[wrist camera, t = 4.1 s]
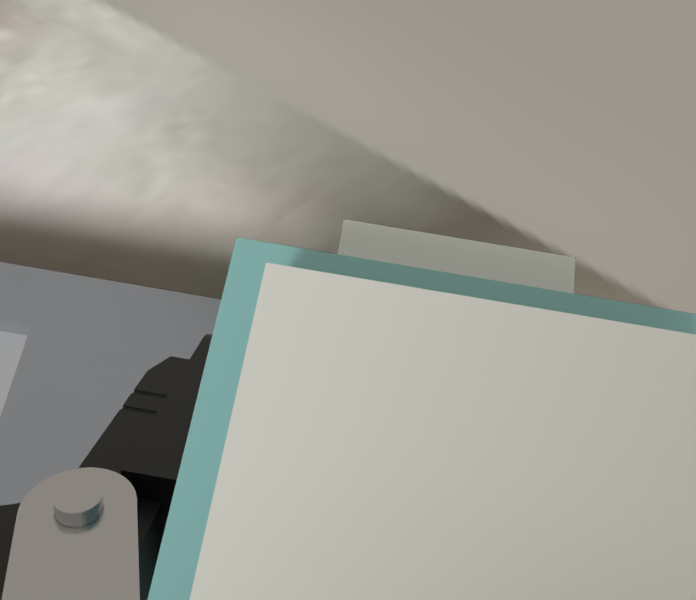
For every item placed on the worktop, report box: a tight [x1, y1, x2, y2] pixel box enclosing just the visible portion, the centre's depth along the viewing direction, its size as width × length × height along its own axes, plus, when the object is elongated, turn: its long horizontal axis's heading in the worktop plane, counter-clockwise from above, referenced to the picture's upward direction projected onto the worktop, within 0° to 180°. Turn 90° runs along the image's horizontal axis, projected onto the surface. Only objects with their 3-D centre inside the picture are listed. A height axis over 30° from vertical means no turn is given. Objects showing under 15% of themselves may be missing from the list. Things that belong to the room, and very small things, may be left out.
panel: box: [0, 262, 221, 506], centre depth 16 cm, size 20×9×2 cm, turn 80°
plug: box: [147, 219, 696, 600], centre depth 10 cm, size 4×5×13 cm
